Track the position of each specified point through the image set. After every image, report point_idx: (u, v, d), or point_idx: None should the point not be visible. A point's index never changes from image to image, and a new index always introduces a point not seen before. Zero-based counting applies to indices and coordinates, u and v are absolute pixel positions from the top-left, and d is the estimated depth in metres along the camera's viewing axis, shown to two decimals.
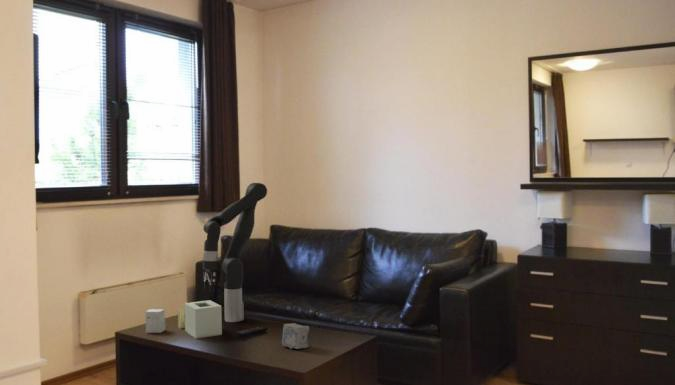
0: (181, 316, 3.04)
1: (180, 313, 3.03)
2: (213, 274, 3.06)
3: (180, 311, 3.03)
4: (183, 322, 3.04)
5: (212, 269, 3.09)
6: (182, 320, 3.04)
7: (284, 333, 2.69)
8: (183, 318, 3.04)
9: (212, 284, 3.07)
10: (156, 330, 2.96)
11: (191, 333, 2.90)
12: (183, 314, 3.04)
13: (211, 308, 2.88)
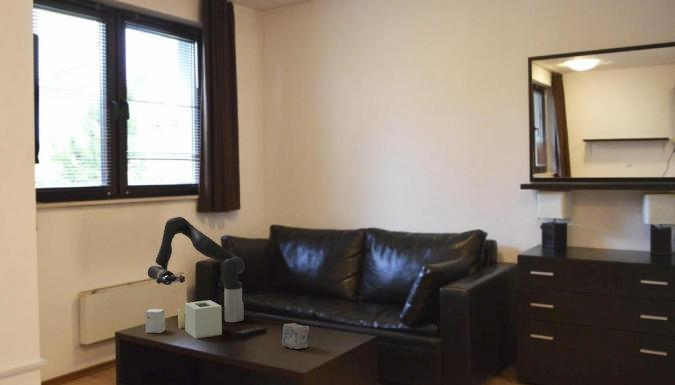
0: (181, 316, 3.04)
1: (180, 313, 3.03)
2: (156, 280, 3.18)
3: (180, 311, 3.03)
4: (183, 322, 3.04)
5: (161, 278, 3.22)
6: (182, 320, 3.04)
7: (284, 333, 2.69)
8: (183, 318, 3.04)
9: (160, 282, 3.15)
10: (156, 330, 2.96)
11: (191, 333, 2.90)
12: (183, 314, 3.04)
13: (211, 308, 2.88)
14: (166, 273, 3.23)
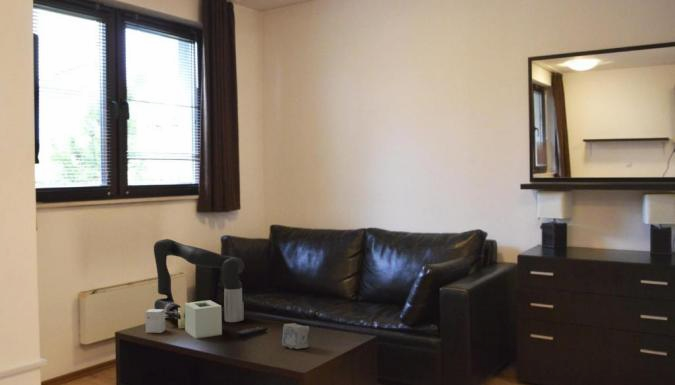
0: (181, 316, 3.04)
1: (180, 313, 3.03)
2: (165, 316, 3.07)
3: (180, 311, 3.03)
4: (183, 322, 3.04)
5: None
6: (182, 320, 3.04)
7: (284, 333, 2.69)
8: (183, 318, 3.04)
9: (174, 316, 3.05)
10: (156, 330, 2.96)
11: (191, 333, 2.90)
12: (183, 314, 3.04)
13: (211, 308, 2.88)
14: (174, 307, 3.13)
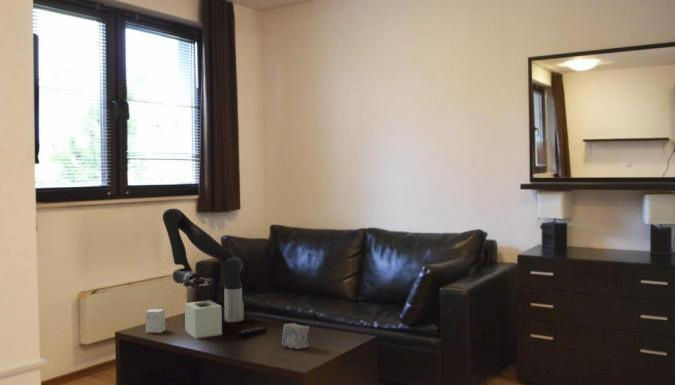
0: None
1: None
2: (183, 283, 2.98)
3: None
4: None
5: (188, 281, 3.01)
6: None
7: (284, 333, 2.69)
8: None
9: (188, 285, 2.94)
10: (156, 330, 2.96)
11: (191, 333, 2.90)
12: None
13: (211, 308, 2.88)
14: (194, 275, 3.03)
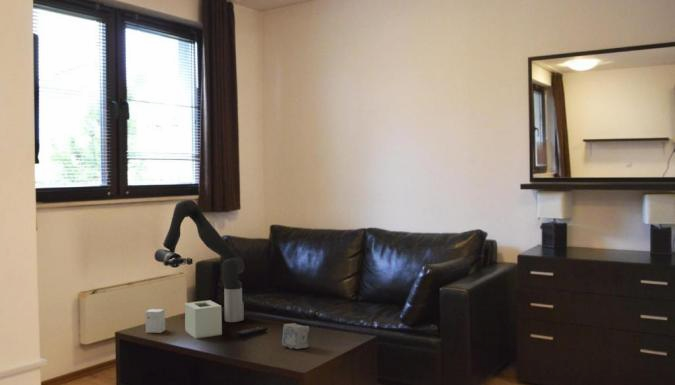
0: None
1: None
2: (163, 263, 3.13)
3: None
4: None
5: (168, 261, 3.17)
6: None
7: (284, 333, 2.69)
8: None
9: (168, 264, 3.09)
10: (156, 330, 2.96)
11: (191, 333, 2.90)
12: None
13: (211, 308, 2.88)
14: (173, 255, 3.18)
